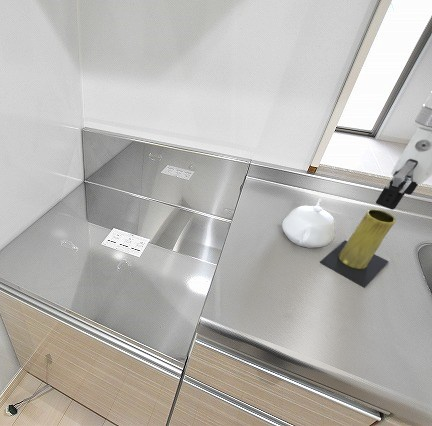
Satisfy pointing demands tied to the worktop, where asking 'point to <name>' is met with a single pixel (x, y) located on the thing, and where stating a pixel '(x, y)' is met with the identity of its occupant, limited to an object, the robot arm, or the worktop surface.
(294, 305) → the worktop surface
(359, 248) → the vase
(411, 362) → the worktop surface
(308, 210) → the white garlic bulb
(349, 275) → the mat
